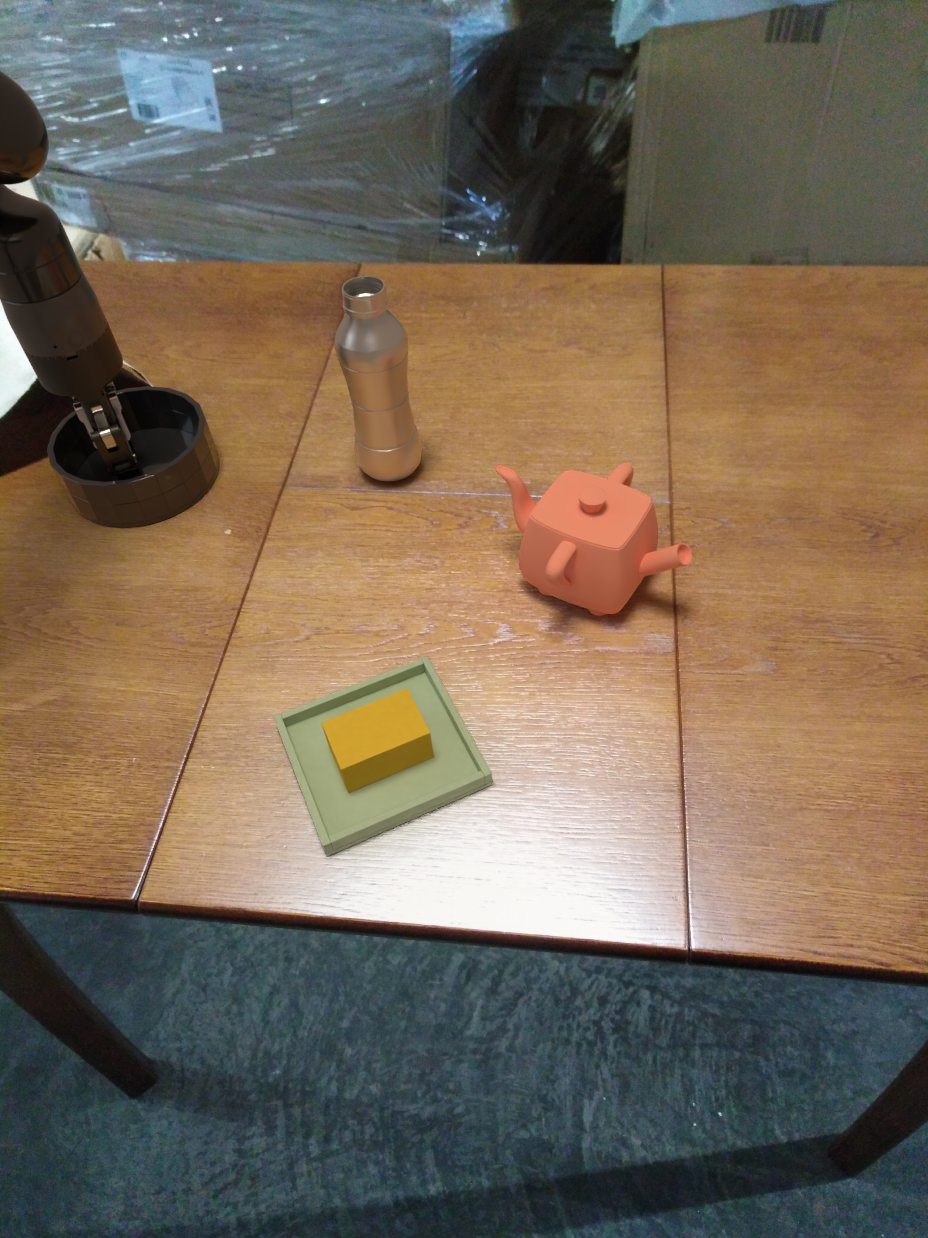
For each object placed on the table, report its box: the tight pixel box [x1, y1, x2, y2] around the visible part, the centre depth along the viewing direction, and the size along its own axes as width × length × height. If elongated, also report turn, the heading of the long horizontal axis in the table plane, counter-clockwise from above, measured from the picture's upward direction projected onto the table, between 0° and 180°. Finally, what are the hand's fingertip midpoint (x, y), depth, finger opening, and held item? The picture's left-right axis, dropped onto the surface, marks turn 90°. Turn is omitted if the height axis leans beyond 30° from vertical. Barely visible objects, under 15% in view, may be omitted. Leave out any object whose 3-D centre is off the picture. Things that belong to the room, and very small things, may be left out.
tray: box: [273, 655, 493, 857], centre depth 69 cm, size 13×12×2 cm
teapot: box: [494, 462, 693, 617], centre depth 76 cm, size 14×12×10 cm
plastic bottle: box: [333, 275, 423, 482], centre depth 83 cm, size 6×7×20 cm
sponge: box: [321, 688, 434, 793], centre depth 67 cm, size 7×4×4 cm, turn 115°
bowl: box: [46, 385, 220, 528], centre depth 90 cm, size 15×15×6 cm
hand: (131, 473), depth 91 cm, fingers open, 5 cm apart
